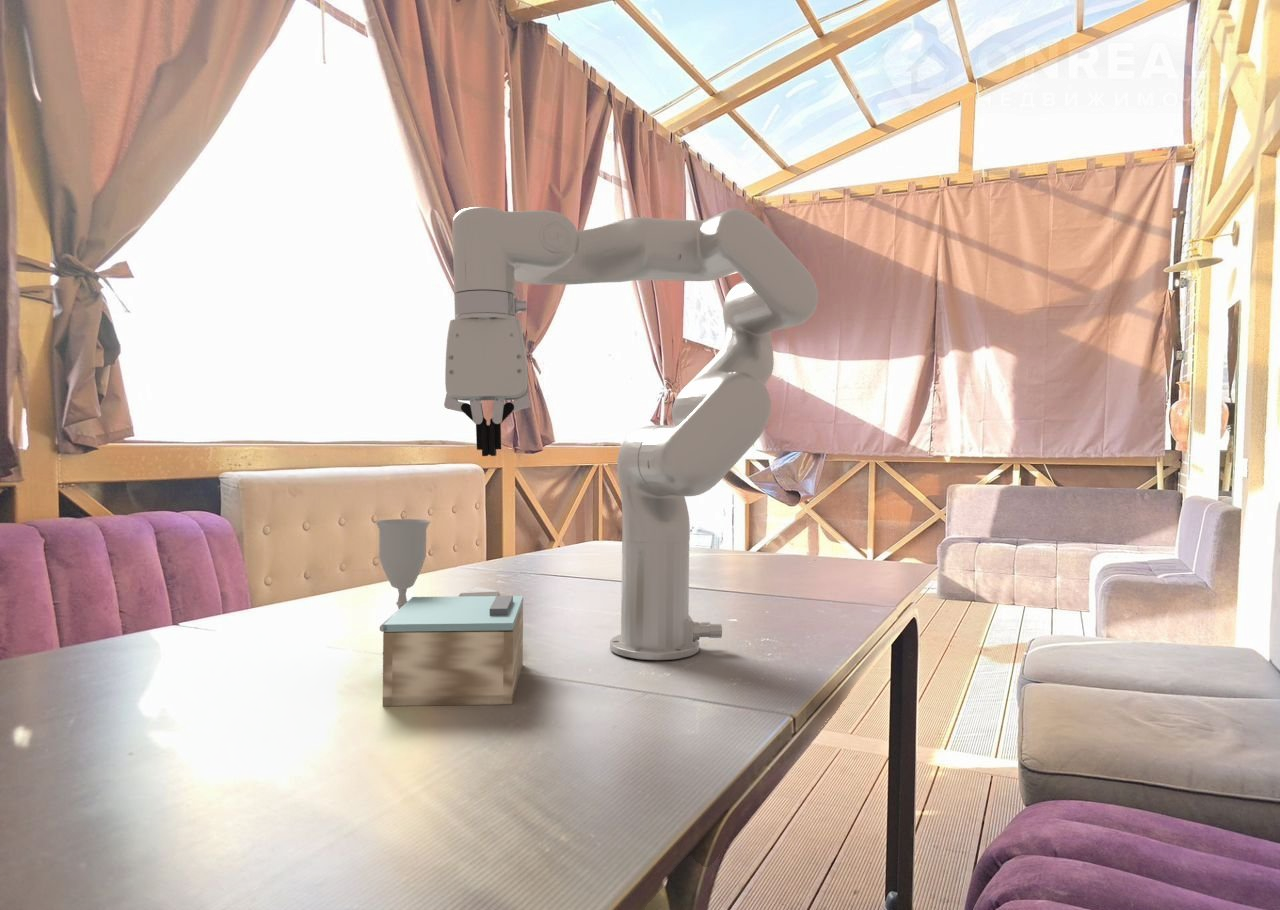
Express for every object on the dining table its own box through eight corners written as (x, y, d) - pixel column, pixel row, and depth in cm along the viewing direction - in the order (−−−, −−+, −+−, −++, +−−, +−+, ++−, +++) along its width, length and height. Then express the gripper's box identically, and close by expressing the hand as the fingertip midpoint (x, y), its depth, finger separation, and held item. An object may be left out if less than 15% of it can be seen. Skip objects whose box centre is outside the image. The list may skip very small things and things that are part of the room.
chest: (522, 664, 103) (523, 603, 103) (512, 704, 87) (512, 631, 87) (413, 665, 102) (413, 603, 102) (382, 706, 86) (383, 632, 86)
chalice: (436, 646, 112) (437, 519, 111) (418, 659, 105) (419, 524, 105) (386, 644, 112) (387, 518, 112) (365, 657, 106) (366, 523, 105)
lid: (523, 602, 103) (523, 589, 103) (512, 630, 87) (513, 615, 87) (410, 603, 102) (410, 590, 102) (379, 631, 86) (379, 617, 86)
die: (522, 651, 112) (517, 588, 118) (490, 632, 105) (486, 566, 111) (470, 669, 114) (467, 605, 120) (435, 651, 107) (433, 584, 112)
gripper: (545, 314, 104) (548, 453, 104) (429, 315, 102) (433, 456, 103) (544, 305, 96) (548, 455, 97) (419, 305, 95) (424, 458, 95)
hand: (489, 455), depth 100 cm, fingers closed
